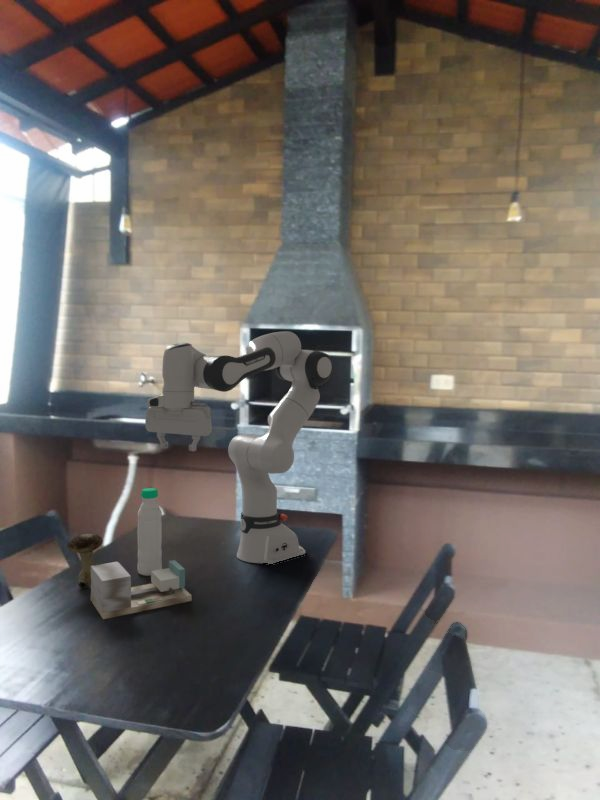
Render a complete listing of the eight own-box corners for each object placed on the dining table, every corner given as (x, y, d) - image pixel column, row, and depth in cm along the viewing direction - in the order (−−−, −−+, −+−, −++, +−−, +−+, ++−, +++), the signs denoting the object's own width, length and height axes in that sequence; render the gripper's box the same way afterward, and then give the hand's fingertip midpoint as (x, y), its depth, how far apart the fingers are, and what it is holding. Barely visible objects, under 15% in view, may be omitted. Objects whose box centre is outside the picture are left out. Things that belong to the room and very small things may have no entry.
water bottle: (155, 577, 181) (155, 492, 179) (133, 575, 182) (132, 491, 180) (165, 569, 188) (165, 487, 186) (144, 566, 189) (143, 485, 187)
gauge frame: (174, 584, 176) (174, 551, 175) (191, 600, 165) (191, 565, 164) (90, 600, 164) (90, 565, 163) (103, 619, 153) (102, 581, 152)
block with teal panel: (174, 577, 173) (174, 559, 173) (188, 590, 164) (188, 572, 164) (151, 581, 170) (151, 563, 169) (164, 595, 161) (164, 576, 160)
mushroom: (108, 588, 172) (108, 535, 171) (78, 596, 166) (77, 541, 165) (93, 578, 179) (92, 527, 178) (63, 586, 173) (62, 533, 172)
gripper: (216, 402, 175) (215, 450, 176) (155, 398, 183) (155, 445, 184) (204, 403, 169) (204, 454, 170) (142, 400, 177) (142, 448, 178)
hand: (178, 449), depth 177 cm, fingers open, 8 cm apart
